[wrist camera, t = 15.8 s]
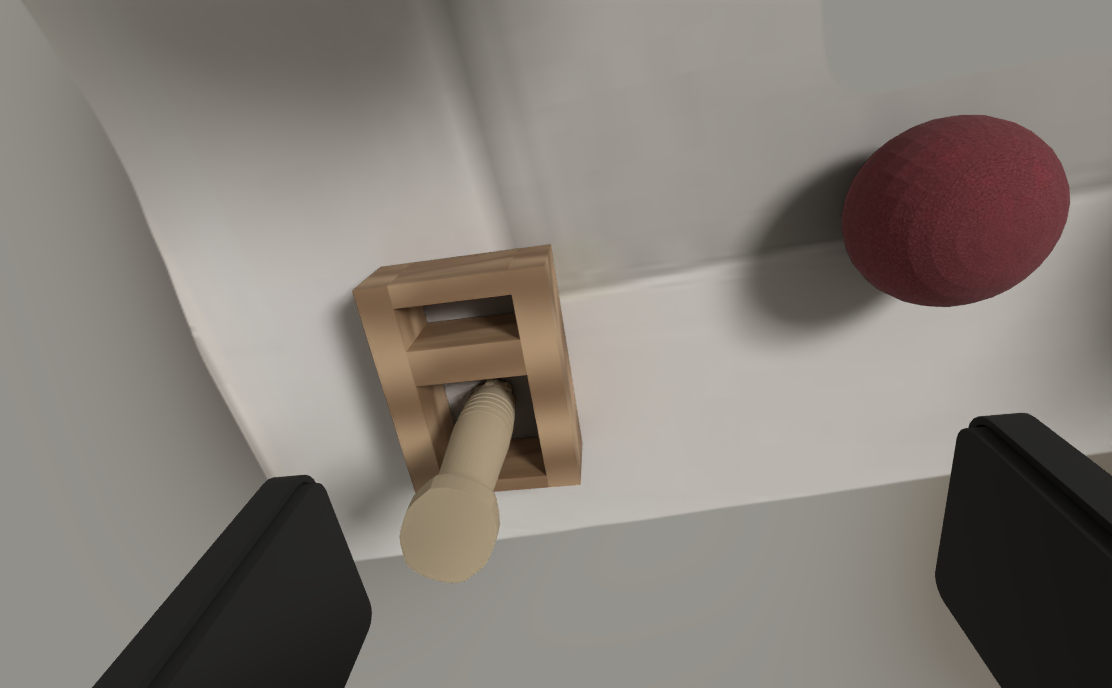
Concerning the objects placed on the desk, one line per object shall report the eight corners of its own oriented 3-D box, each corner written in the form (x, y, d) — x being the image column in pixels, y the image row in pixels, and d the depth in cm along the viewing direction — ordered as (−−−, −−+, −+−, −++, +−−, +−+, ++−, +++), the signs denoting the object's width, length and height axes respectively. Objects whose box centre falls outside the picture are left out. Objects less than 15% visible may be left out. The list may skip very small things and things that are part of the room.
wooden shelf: (380, 266, 39) (352, 290, 35) (550, 244, 38) (544, 265, 33) (434, 456, 46) (416, 497, 41) (582, 443, 44) (580, 484, 40)
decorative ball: (861, 303, 38) (944, 372, 29) (786, 183, 35) (851, 217, 26) (1014, 211, 35) (1160, 256, 26) (945, 71, 32) (1082, 66, 23)
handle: (454, 417, 44) (389, 566, 30) (476, 347, 41) (416, 476, 28) (513, 437, 44) (475, 592, 31) (539, 369, 42) (510, 506, 28)
